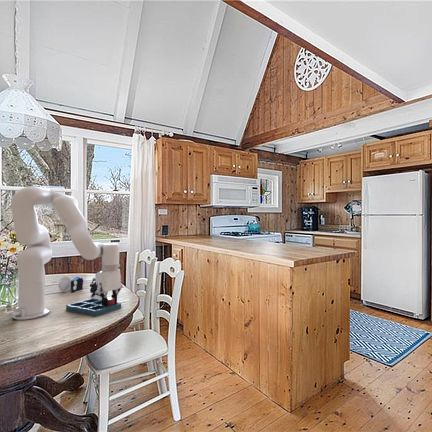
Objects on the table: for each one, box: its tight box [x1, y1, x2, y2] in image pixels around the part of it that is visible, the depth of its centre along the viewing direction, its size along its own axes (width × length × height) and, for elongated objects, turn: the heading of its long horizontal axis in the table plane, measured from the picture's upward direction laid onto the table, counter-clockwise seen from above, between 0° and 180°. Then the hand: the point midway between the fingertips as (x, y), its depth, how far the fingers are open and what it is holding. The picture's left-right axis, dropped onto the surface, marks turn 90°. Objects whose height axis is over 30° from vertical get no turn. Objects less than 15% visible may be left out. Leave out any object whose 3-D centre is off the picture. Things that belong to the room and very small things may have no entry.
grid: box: [65, 297, 122, 318], centre depth 152 cm, size 14×20×3 cm
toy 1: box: [57, 276, 84, 294], centre depth 185 cm, size 9×11×15 cm
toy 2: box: [89, 271, 102, 298], centre depth 181 cm, size 8×20×15 cm
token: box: [107, 296, 115, 306], centre depth 152 cm, size 5×5×3 cm
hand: (109, 303), depth 152 cm, fingers closed on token, 4 cm apart
